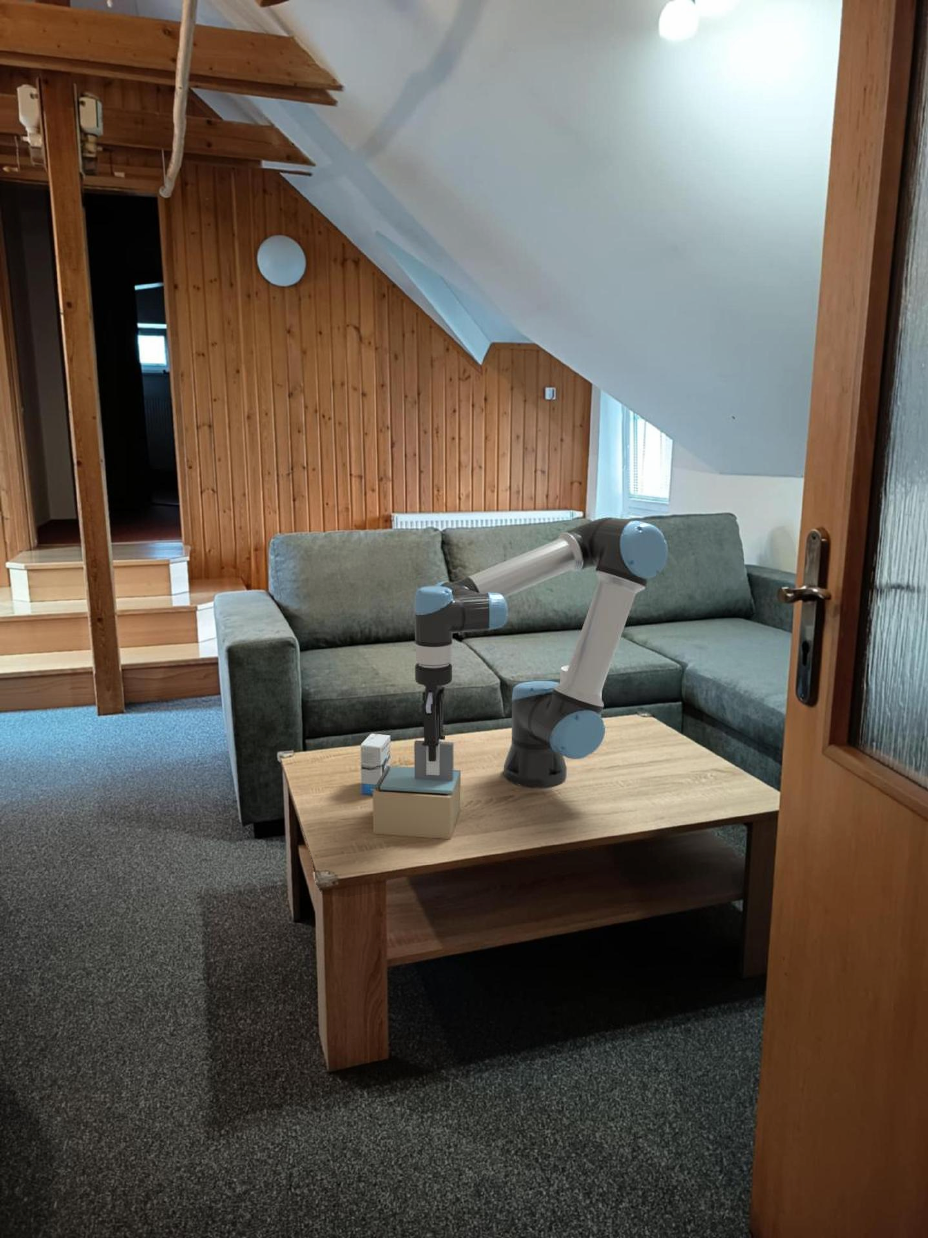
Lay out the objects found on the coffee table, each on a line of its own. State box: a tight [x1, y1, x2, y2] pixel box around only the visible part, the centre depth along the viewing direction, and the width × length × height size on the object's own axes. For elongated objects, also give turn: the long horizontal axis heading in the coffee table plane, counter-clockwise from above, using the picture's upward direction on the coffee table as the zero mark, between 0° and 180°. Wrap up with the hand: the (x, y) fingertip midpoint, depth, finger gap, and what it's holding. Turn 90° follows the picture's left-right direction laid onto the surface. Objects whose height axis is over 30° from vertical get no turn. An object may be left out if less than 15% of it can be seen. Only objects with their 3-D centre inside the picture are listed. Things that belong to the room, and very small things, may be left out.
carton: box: [372, 766, 462, 840], centre depth 180 cm, size 16×14×9 cm
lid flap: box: [375, 739, 462, 794], centre depth 178 cm, size 16×11×9 cm
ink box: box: [360, 733, 391, 796], centre depth 197 cm, size 8×5×12 cm, turn 168°
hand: (434, 772), depth 178 cm, fingers closed on lid flap, 1 cm apart
